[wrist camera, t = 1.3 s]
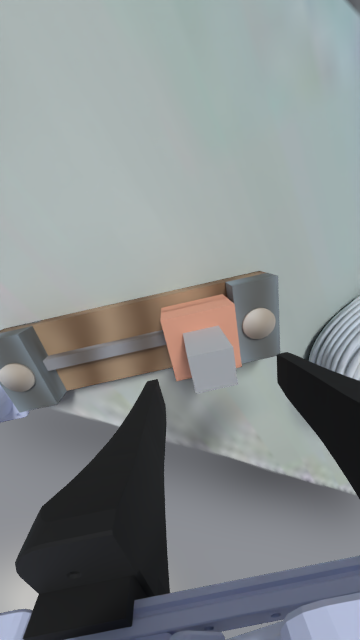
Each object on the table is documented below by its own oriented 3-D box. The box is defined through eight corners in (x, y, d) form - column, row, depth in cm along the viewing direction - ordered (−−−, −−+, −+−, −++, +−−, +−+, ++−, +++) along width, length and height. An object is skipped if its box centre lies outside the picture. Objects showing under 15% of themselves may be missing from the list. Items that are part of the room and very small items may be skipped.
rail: (40, 389, 23) (17, 415, 19) (4, 328, 20) (-30, 346, 17) (263, 339, 23) (281, 356, 19) (259, 270, 20) (279, 276, 16)
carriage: (174, 360, 21) (179, 414, 14) (161, 307, 19) (158, 342, 12) (229, 347, 21) (260, 396, 14) (222, 294, 19) (254, 320, 12)
